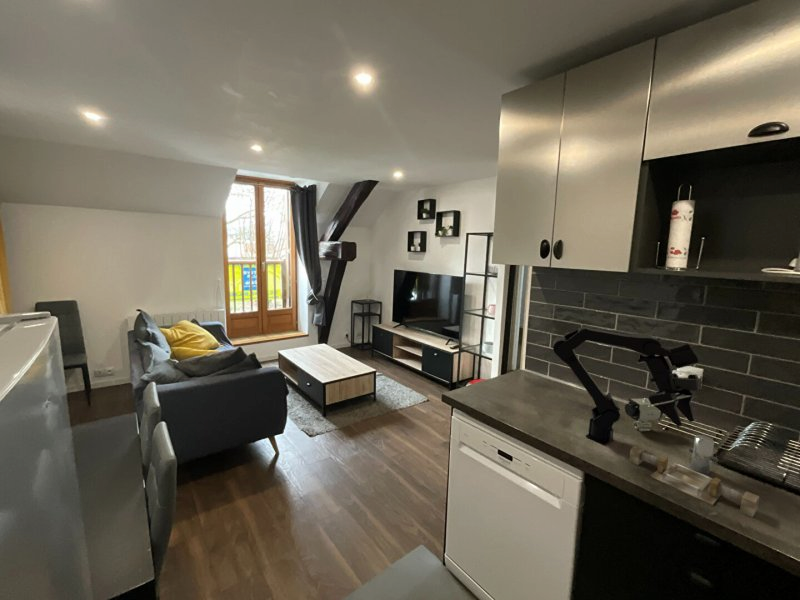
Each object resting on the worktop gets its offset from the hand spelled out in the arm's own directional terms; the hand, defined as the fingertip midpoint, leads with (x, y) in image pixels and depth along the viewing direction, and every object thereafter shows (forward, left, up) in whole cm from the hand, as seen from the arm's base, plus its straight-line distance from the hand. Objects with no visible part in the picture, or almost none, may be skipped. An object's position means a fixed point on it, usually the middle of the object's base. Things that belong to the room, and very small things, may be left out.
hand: (686, 423), depth 107 cm
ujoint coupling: (+4, +2, -13) cm, 14 cm away
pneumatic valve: (-16, +14, -14) cm, 25 cm away
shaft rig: (+4, -9, -13) cm, 17 cm away
